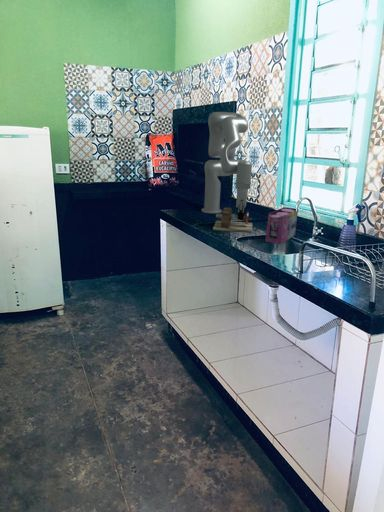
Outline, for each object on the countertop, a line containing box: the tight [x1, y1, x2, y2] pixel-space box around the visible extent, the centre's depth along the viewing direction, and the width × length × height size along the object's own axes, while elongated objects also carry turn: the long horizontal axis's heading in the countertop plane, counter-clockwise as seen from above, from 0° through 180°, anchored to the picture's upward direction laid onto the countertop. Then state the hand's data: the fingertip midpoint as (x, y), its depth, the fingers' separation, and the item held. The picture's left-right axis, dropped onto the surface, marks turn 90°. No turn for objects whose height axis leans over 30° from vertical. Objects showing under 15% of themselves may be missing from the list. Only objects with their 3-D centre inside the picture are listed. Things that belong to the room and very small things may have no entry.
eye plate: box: [212, 207, 253, 234], centre depth 217 cm, size 18×20×9 cm
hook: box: [215, 211, 253, 224], centre depth 217 cm, size 6×19×6 cm, turn 81°
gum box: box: [264, 206, 299, 245], centre depth 198 cm, size 24×8×14 cm, turn 149°
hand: (240, 218), depth 216 cm, fingers open, 9 cm apart
